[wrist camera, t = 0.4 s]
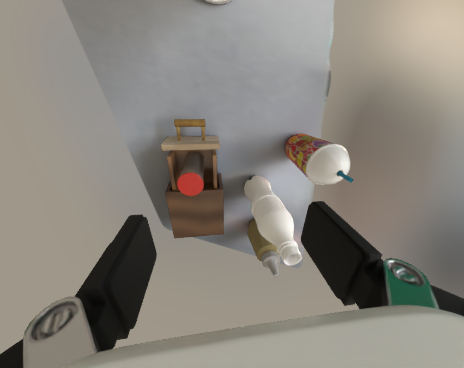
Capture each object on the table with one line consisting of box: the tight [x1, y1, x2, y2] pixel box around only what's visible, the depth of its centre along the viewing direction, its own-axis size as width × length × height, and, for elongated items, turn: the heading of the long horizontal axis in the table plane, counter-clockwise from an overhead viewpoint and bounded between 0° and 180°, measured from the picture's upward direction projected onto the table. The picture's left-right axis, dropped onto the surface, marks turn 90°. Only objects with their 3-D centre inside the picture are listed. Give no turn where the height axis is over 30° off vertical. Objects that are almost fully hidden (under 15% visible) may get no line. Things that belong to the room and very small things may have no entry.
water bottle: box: [244, 176, 302, 265], centre depth 38 cm, size 7×7×25 cm
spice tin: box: [177, 152, 204, 196], centre depth 36 cm, size 5×5×12 cm
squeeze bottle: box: [248, 219, 280, 277], centre depth 49 cm, size 8×8×18 cm
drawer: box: [161, 119, 220, 190], centre depth 39 cm, size 17×11×7 cm
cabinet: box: [165, 174, 224, 238], centre depth 45 cm, size 14×13×9 cm
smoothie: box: [285, 134, 353, 185], centre depth 36 cm, size 8×8×20 cm
